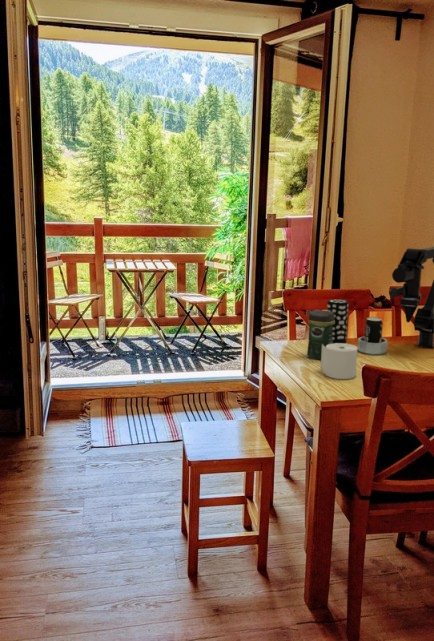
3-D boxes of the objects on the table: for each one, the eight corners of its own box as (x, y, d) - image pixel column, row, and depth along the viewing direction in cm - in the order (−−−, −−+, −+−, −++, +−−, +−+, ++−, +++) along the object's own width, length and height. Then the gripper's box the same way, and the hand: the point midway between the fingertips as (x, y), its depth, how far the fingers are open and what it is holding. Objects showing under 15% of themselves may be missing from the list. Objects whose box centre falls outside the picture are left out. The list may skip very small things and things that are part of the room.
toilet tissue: (357, 380, 183) (359, 351, 181) (321, 378, 185) (322, 350, 183) (354, 370, 194) (356, 343, 191) (320, 369, 196) (321, 342, 193)
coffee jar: (335, 357, 210) (338, 310, 206) (327, 362, 204) (329, 313, 200) (312, 353, 216) (314, 307, 212) (304, 357, 209) (305, 310, 205)
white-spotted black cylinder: (342, 353, 215) (344, 303, 211) (322, 350, 220) (324, 301, 215) (348, 348, 222) (351, 300, 218) (329, 345, 227) (331, 298, 222)
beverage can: (377, 351, 213) (379, 321, 211) (361, 348, 217) (363, 319, 214) (383, 347, 219) (385, 318, 216) (367, 344, 222) (369, 316, 220)
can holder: (359, 346, 226) (360, 335, 225) (388, 349, 221) (389, 338, 220) (354, 353, 215) (355, 341, 214) (384, 356, 211) (385, 344, 210)
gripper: (394, 277, 223) (390, 314, 226) (388, 282, 206) (384, 322, 209) (422, 278, 218) (419, 316, 222) (419, 284, 202) (415, 325, 205)
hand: (409, 320), depth 214 cm, fingers open, 9 cm apart
